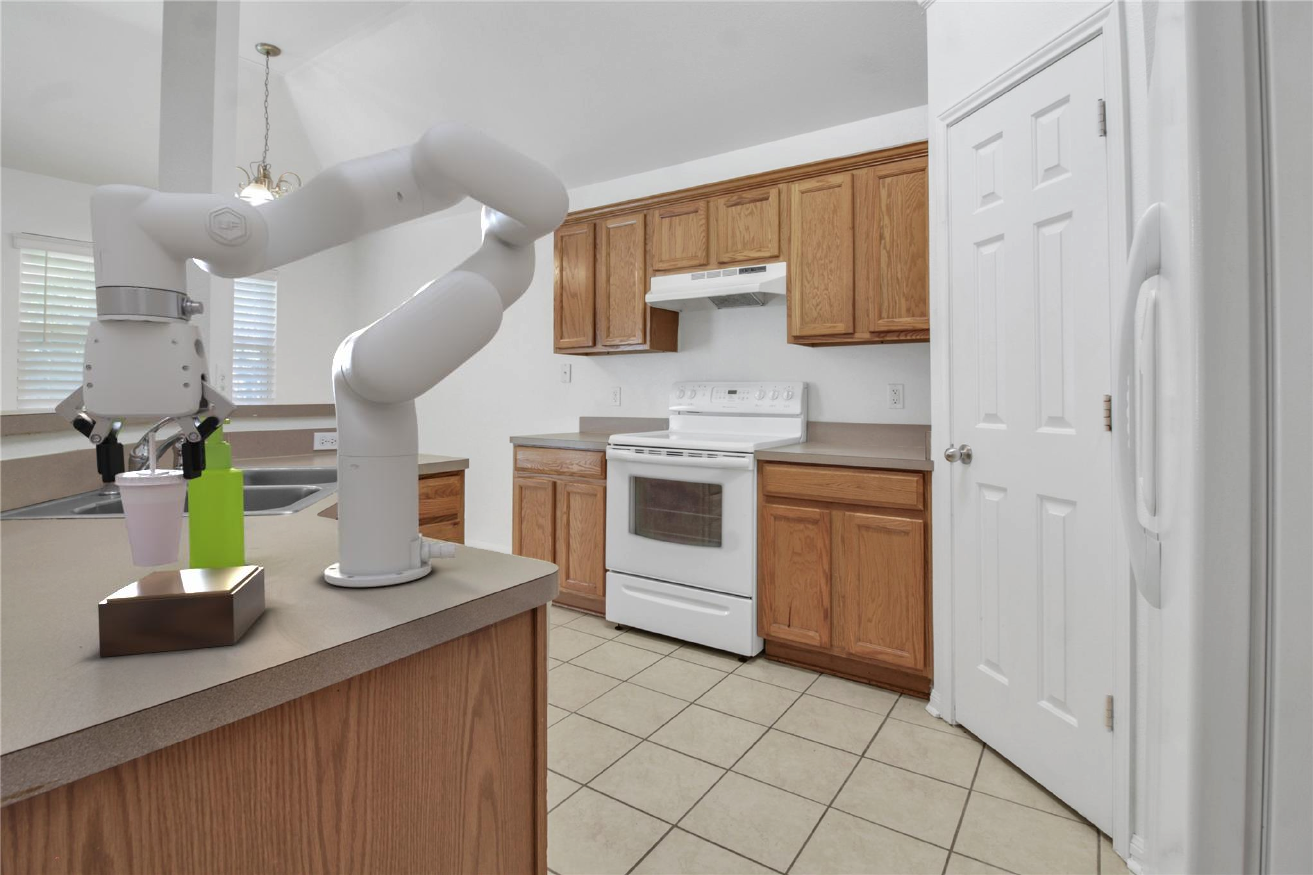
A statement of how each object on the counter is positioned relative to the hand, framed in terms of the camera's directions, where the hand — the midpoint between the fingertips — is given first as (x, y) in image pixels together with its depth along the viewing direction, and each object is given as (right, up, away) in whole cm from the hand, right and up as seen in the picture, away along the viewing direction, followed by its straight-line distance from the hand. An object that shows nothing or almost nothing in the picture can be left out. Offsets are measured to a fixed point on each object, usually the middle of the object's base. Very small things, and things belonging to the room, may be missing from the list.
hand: (154, 478), depth 67 cm
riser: (+9, -14, -7) cm, 18 cm away
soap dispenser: (-4, -13, +15) cm, 20 cm away
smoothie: (0, -9, 0) cm, 9 cm away
